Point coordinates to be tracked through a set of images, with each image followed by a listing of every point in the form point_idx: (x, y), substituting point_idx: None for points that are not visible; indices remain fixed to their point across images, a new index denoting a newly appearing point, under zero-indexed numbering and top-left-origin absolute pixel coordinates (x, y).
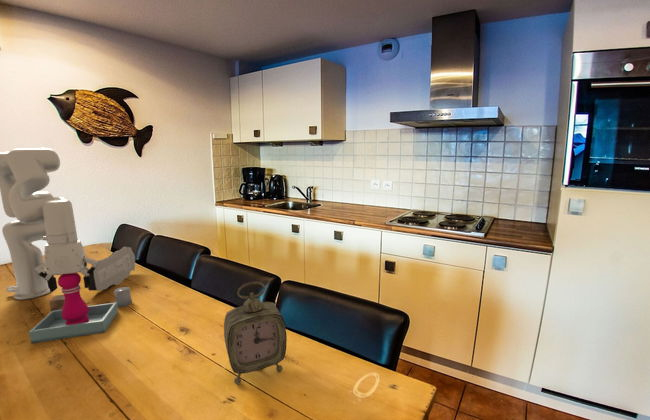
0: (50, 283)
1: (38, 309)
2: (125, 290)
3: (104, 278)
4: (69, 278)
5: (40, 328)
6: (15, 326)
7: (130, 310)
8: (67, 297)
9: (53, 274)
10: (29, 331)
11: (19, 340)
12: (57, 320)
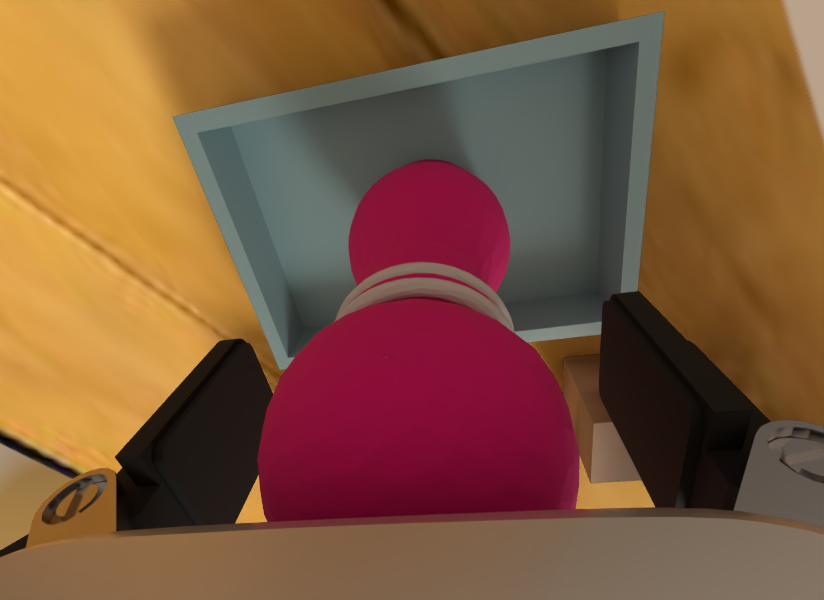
0: (680, 368)
1: None
2: None
3: None
4: (309, 413)
5: (618, 138)
6: (807, 276)
7: (250, 343)
8: (433, 256)
9: (675, 520)
10: (661, 16)
11: (719, 88)
12: (579, 284)
